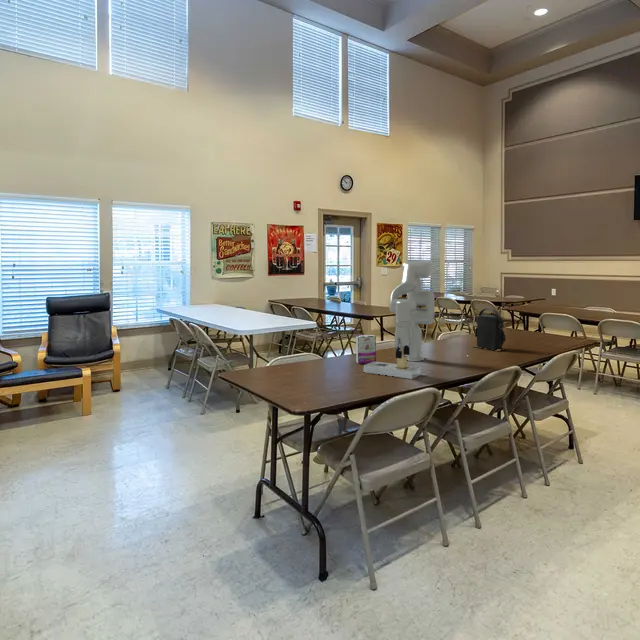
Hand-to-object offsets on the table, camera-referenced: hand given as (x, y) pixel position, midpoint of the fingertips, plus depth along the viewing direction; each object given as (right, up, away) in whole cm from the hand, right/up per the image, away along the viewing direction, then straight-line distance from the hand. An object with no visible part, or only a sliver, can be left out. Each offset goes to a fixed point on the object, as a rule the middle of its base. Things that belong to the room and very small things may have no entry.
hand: (402, 356), depth 249 cm
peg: (0, -10, +1) cm, 10 cm away
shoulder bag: (+72, -1, +75) cm, 104 cm away
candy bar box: (-16, -6, +32) cm, 36 cm away
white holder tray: (-5, -9, +4) cm, 11 cm away
